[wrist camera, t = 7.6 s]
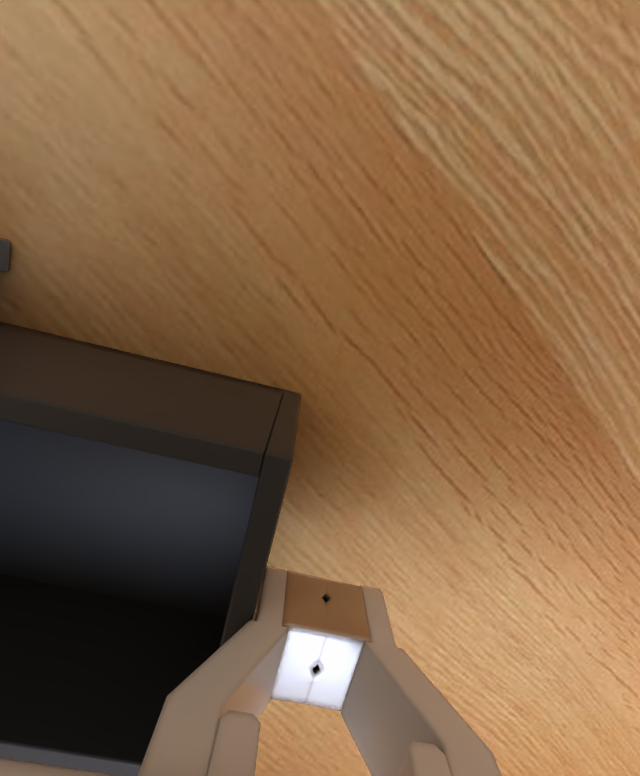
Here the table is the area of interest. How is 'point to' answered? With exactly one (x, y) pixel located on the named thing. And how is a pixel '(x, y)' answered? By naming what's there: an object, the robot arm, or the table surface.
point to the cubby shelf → (4, 254)
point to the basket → (124, 537)
